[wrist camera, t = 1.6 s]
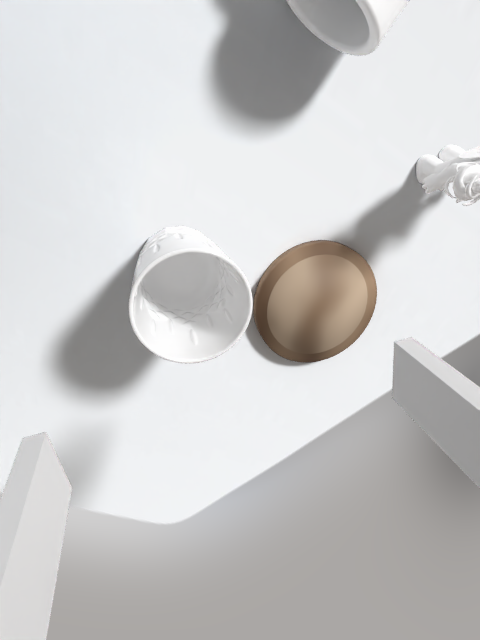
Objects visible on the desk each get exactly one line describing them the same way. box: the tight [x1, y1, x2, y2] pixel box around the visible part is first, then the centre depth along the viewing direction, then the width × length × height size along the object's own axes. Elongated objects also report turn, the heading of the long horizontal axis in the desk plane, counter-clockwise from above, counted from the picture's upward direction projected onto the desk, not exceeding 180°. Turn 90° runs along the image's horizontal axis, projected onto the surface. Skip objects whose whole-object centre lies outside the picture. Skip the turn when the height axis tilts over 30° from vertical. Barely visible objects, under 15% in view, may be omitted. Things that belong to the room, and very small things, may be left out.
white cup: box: [129, 226, 253, 363], centre depth 30 cm, size 8×8×10 cm
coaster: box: [253, 240, 377, 362], centre depth 38 cm, size 12×12×1 cm
